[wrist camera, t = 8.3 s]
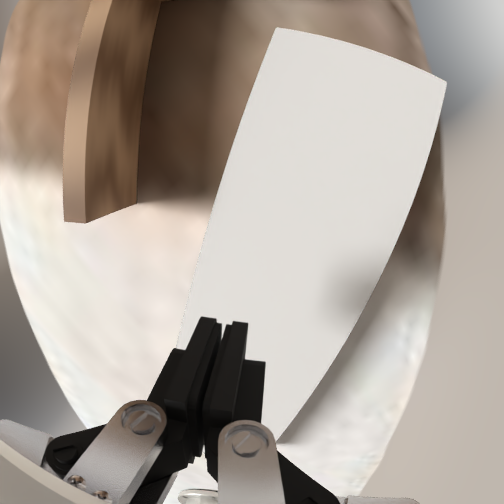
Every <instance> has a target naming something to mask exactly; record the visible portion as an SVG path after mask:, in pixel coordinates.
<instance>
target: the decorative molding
mask: <svg viewBox="0 0 504 504" xmlns="http://www.w3.org/2000/svg"><path fill="white" fill-rule="evenodd" d="M446 85H447V82H446V81H444V80H442V79H440V78H438V77H436V76H434V75H432V74H430V73H428V72H425V71H423V70H421V69H419V68H417V67H414V66H412V65H410V64H407V63H405V62H403V61H400V60H398V59H395V58H392V57H390V56H387V55H384V54H382V53H379V52H376V51H373V50H370V49H367V48H364V47H361V46H358V45H354V44H351V43H347V42H344V41H340V40H336V39H333V38H329V37H324V36H320V35H316V34H311V33H306V32H301V31H296V30H290V29H284V28H277V27H276V30H275V32H274V34H273V37H272V39H271V42H270V44H269V47H268V49H267V52H266V54H265V57H264V60H263V62H262V65H261V67H260V70H259V73H258V75H257V78H256V81H255V83H254V86H253V89H252V91H251V94H250V97H249V100H248V102H247V105H246V108H245V111H244V114H243V116H242V119H241V122H240V125H239V128H238V131H237V134H236V137H235V140H234V143H233V146H232V149H231V152H230V155H229V158H228V161H227V164H226V167H225V170H224V173H223V176H222V180H221V183H220V186H219V189H218V192H217V196H216V199H215V202H214V206H213V209H212V212H211V216H210V219H209V222H208V226H207V229H206V233H205V236H204V240H203V243H202V247H201V250H200V254H199V258H198V261H197V265H196V269H195V272H194V276H193V280H192V284H191V288H190V292H189V295H188V299H187V303H186V307H185V311H184V315H183V320H182V324H181V328H180V332H179V336H178V341H177V345H176V348H177V349H183V350H186V347H187V345H188V343H189V341H190V339H191V336H192V334H193V332H194V330H195V328H196V325H197V323H198V321H199V319H200V317H201V316H203V317H209V318H216V319H217V323H222V337H223V333H224V330H225V327H226V324H230V325H232V322H233V321H238V322H246V323H248V334H247V344H246V354H245V359H247V360H256V361H265V362H266V368H265V381H264V395H263V407H262V419H261V424H263V425H264V426H266V427H267V428H269V430H270V431H271V432H272V433H273V435H274V438H275V441H277V440H278V438H279V437H280V436H281V435H282V433H283V432H284V431H285V430H286V428H287V427H288V426H289V424H290V423H291V422H292V420H293V419H294V418H295V416H296V415H297V414H298V412H299V411H300V410H301V408H302V407H303V405H304V404H305V403H306V401H307V400H308V398H309V397H310V396H311V394H312V393H313V391H314V390H315V388H316V387H317V385H318V384H319V382H320V381H321V379H322V378H323V376H324V375H325V373H326V372H327V370H328V369H329V367H330V366H331V364H332V362H333V361H334V359H335V358H336V356H337V354H338V353H339V351H340V350H341V348H342V346H343V345H344V343H345V341H346V340H347V338H348V336H349V334H350V333H351V331H352V329H353V328H354V326H355V324H356V322H357V320H358V319H359V317H360V315H361V313H362V311H363V310H364V308H365V306H366V304H367V302H368V300H369V298H370V296H371V294H372V292H373V290H374V289H375V287H376V285H377V283H378V281H379V279H380V276H381V274H382V272H383V270H384V268H385V266H386V264H387V262H388V260H389V257H390V255H391V253H392V251H393V249H394V246H395V244H396V242H397V240H398V237H399V235H400V233H401V230H402V228H403V225H404V223H405V220H406V218H407V215H408V213H409V210H410V208H411V205H412V203H413V200H414V197H415V194H416V192H417V189H418V186H419V183H420V180H421V178H422V175H423V172H424V169H425V165H426V162H427V159H428V156H429V153H430V149H431V146H432V143H433V139H434V135H435V132H436V128H437V124H438V120H439V116H440V112H441V108H442V104H443V99H444V95H445V90H446ZM202 452H203V453H205V448H204V447H203V451H202Z"/></svg>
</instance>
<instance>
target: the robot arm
mask: <svg viewBox="0 0 504 504" xmlns="http://www.w3.org/2000/svg"><path fill="white" fill-rule="evenodd" d="M247 334H248V323H246V322H238V321H233V322H232V325H230V324H226V327H225V330H224V333H223V337H222V323H217V319H216V318H209V317H203V316H201V317H200V319H199V321H198V323H197V325H196V328H195V330H194V332H193V334H192V336H191V339H190V341H189V343H188V345H187V347H186V350H183V349H177V348H174V349H173V350H172V351H171V353H170V355H169V357H168V359H167V361H166V363H165V365H164V367H163V369H162V371H161V373H160V375H159V377H158V379H157V381H156V383H155V385H154V387H153V389H152V391H151V393H150V395H149V397H148V399H147V401H146V400H136V401H131V402H129V403H126V404H124V405H123V406H122V407H121V408H120V409H119V410H118V411H117V412H116V413H115V415H114V416H113V417H112V418H111V420H110V421H109V422H108V423H107V424H105V425H101V426H98V427H94V428H91V429H87V430H83V431H79V432H76V433H71V434H67V435H63V436H60V437H57V438H54V437H52V436H51V435H50V434H48V433H45V432H42V431H38V430H35V429H32V428H29V427H26V426H24V425H21V424H18V423H15V422H13V421H10V420H5V419H4V420H0V504H163V502H164V500H165V498H166V496H167V494H168V493H169V491H170V489H171V487H172V485H173V483H174V481H175V479H176V477H177V475H178V471H180V470H182V469H185V468H187V466H188V463H191V464H193V462H194V459H195V456H196V457H201V455H202V451H203V447H204V448H205V458H207V470H208V472H209V474H210V475H211V476H212V477H213V478H214V479H215V480H216V481H217V483H218V492H214V491H206V490H185V491H182V492H180V493H179V496H178V500H179V501H180V503H182V504H419V503H418V502H417V501H415V500H414V499H410V498H375V497H359V496H348V497H347V498H345V497H336V496H335V495H333V494H332V493H331V492H330V491H328V490H327V489H325V488H324V487H323V486H321V485H320V484H319V483H317V482H316V481H315V480H313V479H312V478H311V477H309V476H308V475H307V474H305V473H304V472H303V471H301V470H300V469H299V468H298V467H296V466H295V465H294V464H293V463H291V462H290V461H289V460H288V459H287V458H285V457H284V456H283V455H282V454H281V453H279V452H278V451H277V448H276V441H275V438H274V435H273V433H272V432H271V431H270V430H269V428H267V427H266V426H264V425H263V424H261V419H262V407H263V395H264V381H265V368H266V362H265V361H256V360H247V359H245V354H246V344H247Z"/></svg>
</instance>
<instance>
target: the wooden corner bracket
mask: <svg viewBox="0 0 504 504" xmlns="http://www.w3.org/2000/svg"><path fill="white" fill-rule="evenodd" d="M165 1H172V0H92V1H91V3H90V6H89V9H88V13H87V16H86V19H85V22H84V26H83V29H82V33H81V37H80V40H79V44H78V49H77V53H76V57H75V62H74V67H73V72H72V78H71V83H70V90H69V96H68V104H67V112H66V122H65V133H64V150H63V207H64V222H75V223H88V222H90V221H93V220H95V219H98V218H100V217H103V216H105V215H108V214H110V213H113V212H116V211H118V210H121V209H123V208H126V207H129V206H131V205H134V204H137V169H138V150H139V136H140V124H141V114H142V105H143V96H144V89H145V81H146V75H147V68H148V62H149V56H150V51H151V45H152V40H153V35H154V31H155V26H156V22H157V17H158V13H159V9H160V5H161V2H165Z"/></svg>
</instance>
